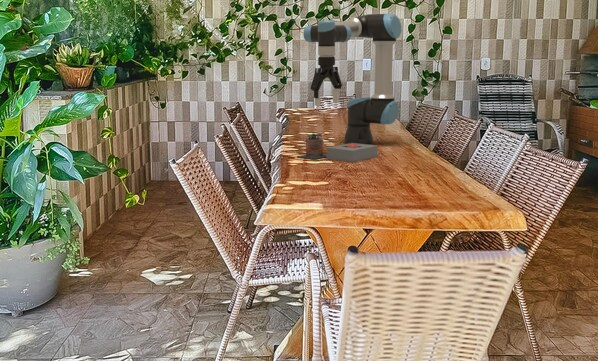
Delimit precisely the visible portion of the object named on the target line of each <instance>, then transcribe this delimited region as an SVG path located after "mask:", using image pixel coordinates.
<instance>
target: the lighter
mask: <svg viewBox="0 0 598 361" xmlns="http://www.w3.org/2000/svg"><path fill="white" fill-rule="evenodd" d="M322 136H323V134H322V133H316V134H315V133H312V134H308V136H307V137H308V138H307V139H306V138H305V155H306V156H323V155H324V139H323V138H322Z"/></svg>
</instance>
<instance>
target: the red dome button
mask: <svg viewBox="0 0 598 361" xmlns="http://www.w3.org/2000/svg"><path fill="white" fill-rule="evenodd" d="M346 144H347V147H348V148H358V144H349V143H346Z"/></svg>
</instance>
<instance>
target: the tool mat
mask: <svg viewBox="0 0 598 361" xmlns="http://www.w3.org/2000/svg"><path fill="white" fill-rule="evenodd" d="M296 158H298V159H302V160H303V159H304V160H310V161H311V160H313V161H317V160H323V159H327V154H323V156H306V154H302V155H298V156H296Z"/></svg>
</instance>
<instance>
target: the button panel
mask: <svg viewBox="0 0 598 361" xmlns="http://www.w3.org/2000/svg"><path fill="white" fill-rule="evenodd" d="M347 144H357V143H344V144H339V145H333V146H329V147H326V155H327V158H326V160H333V161H339V162H340V161H341V162H348V163H355V162H359V161H364V160H368V159H374V158H377V157H379V153H378V152H379V149H378V148H379V146H378V145H374V144H358V148H348V147H347Z"/></svg>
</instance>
